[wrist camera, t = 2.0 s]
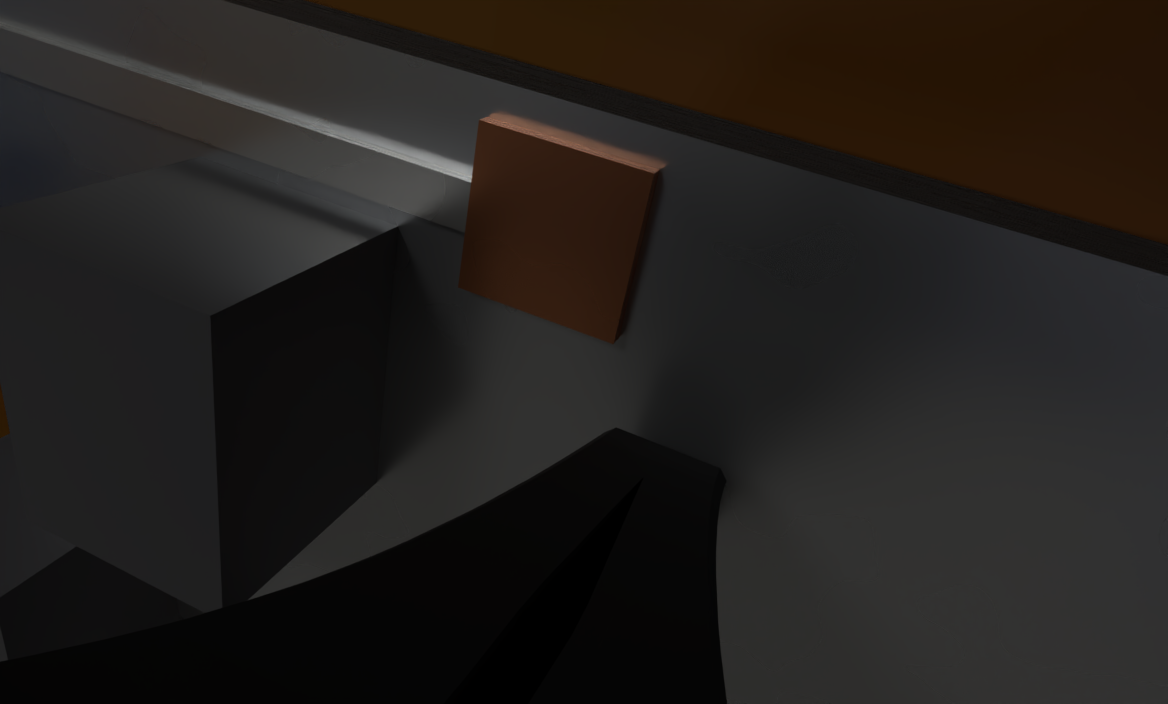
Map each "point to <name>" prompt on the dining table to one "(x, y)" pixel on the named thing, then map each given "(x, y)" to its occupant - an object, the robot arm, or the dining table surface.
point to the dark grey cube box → (193, 370)
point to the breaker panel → (689, 337)
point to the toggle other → (62, 584)
